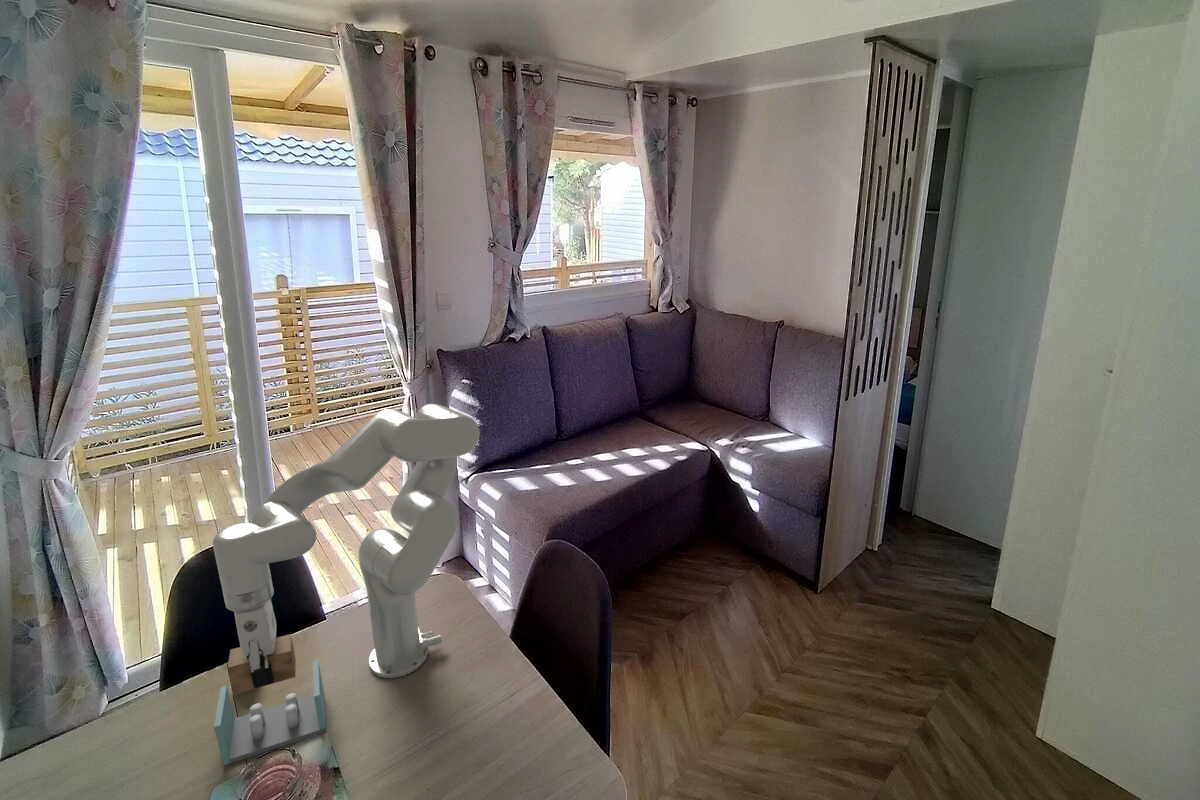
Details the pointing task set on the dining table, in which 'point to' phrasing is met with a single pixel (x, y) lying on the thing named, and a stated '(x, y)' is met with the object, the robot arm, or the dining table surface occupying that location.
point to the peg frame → (269, 723)
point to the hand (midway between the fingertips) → (264, 673)
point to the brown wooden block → (279, 660)
